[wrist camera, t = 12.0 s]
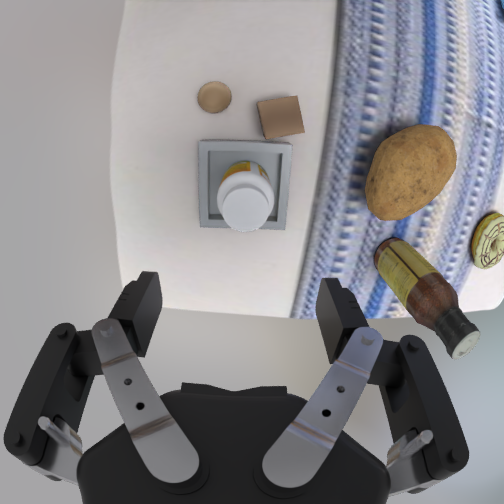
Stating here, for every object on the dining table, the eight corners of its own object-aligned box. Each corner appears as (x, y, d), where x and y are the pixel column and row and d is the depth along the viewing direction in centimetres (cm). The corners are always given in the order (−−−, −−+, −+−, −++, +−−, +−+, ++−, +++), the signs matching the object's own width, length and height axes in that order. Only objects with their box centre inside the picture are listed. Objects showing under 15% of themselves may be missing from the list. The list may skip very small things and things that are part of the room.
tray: (202, 139, 29) (198, 141, 27) (289, 142, 30) (292, 145, 28) (203, 219, 34) (199, 227, 32) (282, 221, 35) (284, 229, 32)
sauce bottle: (381, 278, 39) (440, 378, 22) (365, 251, 37) (434, 355, 19) (413, 255, 37) (486, 344, 20) (401, 226, 35) (487, 314, 17)
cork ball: (200, 83, 26) (195, 80, 23) (232, 83, 26) (231, 79, 23) (200, 113, 28) (194, 113, 25) (231, 113, 28) (229, 112, 25)
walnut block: (256, 103, 28) (257, 102, 24) (291, 97, 27) (297, 95, 24) (264, 136, 30) (266, 139, 26) (298, 130, 29) (304, 132, 26)
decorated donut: (466, 270, 39) (477, 281, 36) (467, 221, 35) (480, 231, 31) (499, 250, 37) (510, 259, 34) (501, 202, 33) (514, 211, 29)
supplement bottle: (216, 195, 32) (204, 228, 23) (231, 153, 30) (225, 170, 21) (258, 210, 33) (263, 248, 24) (276, 169, 31) (288, 193, 22)
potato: (333, 172, 32) (356, 190, 24) (406, 104, 27) (443, 106, 20) (376, 223, 35) (402, 251, 28) (440, 160, 30) (477, 175, 23)
